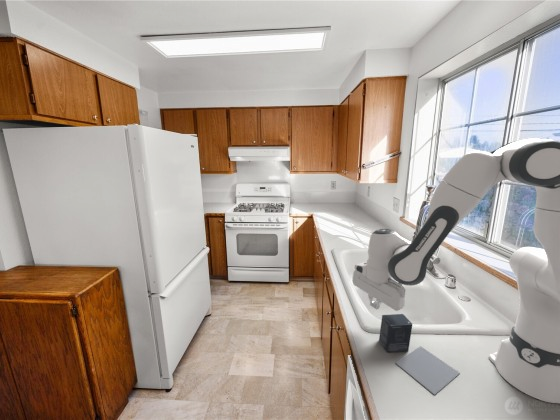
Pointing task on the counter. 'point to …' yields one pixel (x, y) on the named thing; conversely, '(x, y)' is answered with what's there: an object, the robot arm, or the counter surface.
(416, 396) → the counter surface
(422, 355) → the mat
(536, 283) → the robot arm
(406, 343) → the box
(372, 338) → the counter surface
